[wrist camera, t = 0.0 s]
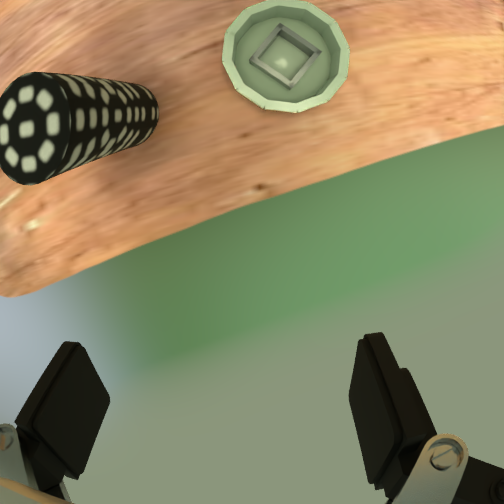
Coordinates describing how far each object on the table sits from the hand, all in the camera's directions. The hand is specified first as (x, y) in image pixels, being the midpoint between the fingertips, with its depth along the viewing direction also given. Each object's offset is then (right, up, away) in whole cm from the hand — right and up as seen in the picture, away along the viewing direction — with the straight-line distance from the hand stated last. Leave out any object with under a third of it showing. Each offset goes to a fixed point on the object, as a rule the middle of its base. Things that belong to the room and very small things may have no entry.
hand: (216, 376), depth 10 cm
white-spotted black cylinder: (-14, +21, +25) cm, 36 cm away
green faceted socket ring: (+5, +26, +22) cm, 35 cm away
